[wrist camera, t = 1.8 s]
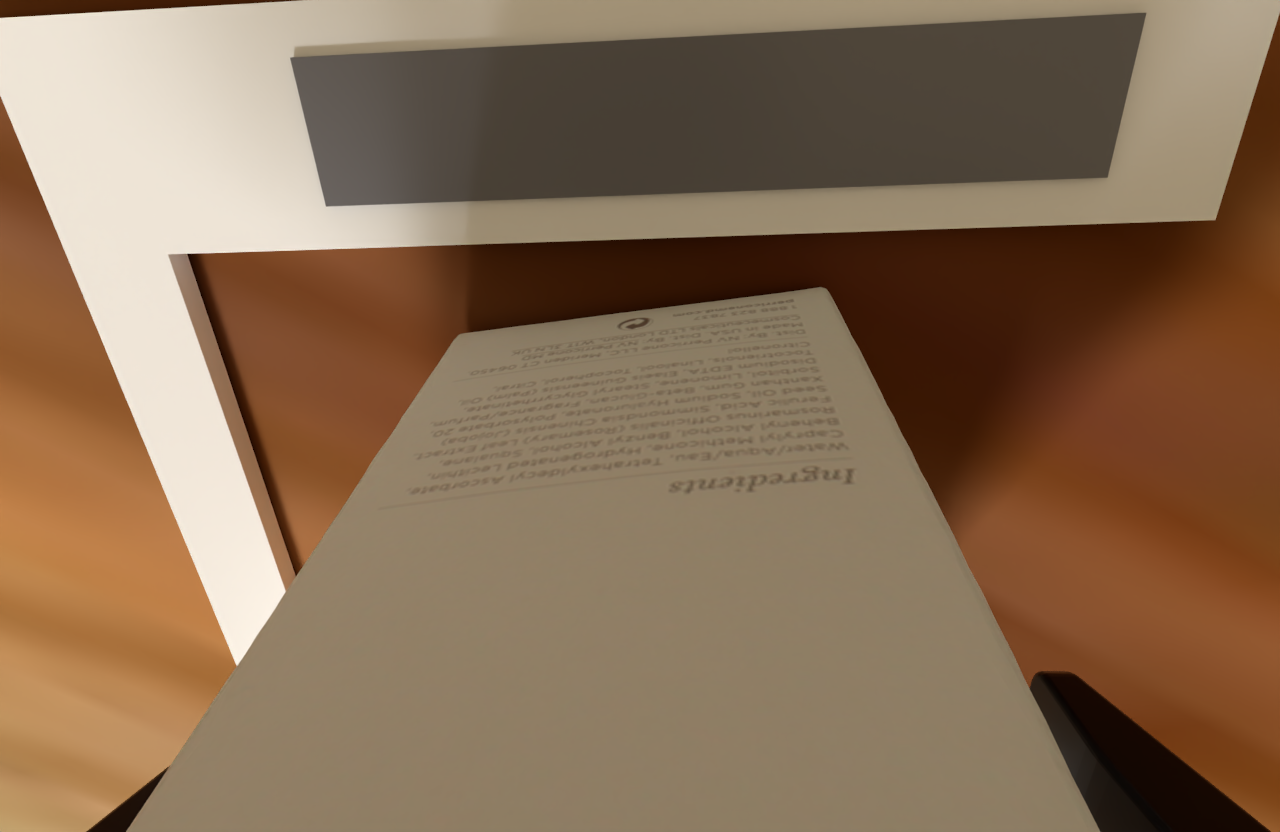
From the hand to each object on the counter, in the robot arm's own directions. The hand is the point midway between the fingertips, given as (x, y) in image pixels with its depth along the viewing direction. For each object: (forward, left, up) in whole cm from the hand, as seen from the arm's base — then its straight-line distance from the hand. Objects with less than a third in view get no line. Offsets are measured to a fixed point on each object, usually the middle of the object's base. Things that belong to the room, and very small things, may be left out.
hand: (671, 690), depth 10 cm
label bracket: (0, 0, -4) cm, 4 cm away
